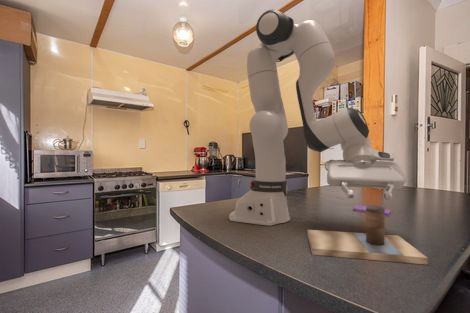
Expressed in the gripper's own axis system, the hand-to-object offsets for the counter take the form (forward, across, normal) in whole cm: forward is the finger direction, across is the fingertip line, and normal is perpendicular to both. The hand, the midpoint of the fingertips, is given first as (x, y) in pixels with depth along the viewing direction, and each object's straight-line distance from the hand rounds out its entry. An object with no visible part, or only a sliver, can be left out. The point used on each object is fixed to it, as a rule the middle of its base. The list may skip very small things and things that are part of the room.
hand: (369, 198), depth 64 cm
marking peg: (+10, 0, +4) cm, 11 cm away
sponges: (-16, +12, +34) cm, 40 cm away
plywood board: (+12, -4, +5) cm, 13 cm away
